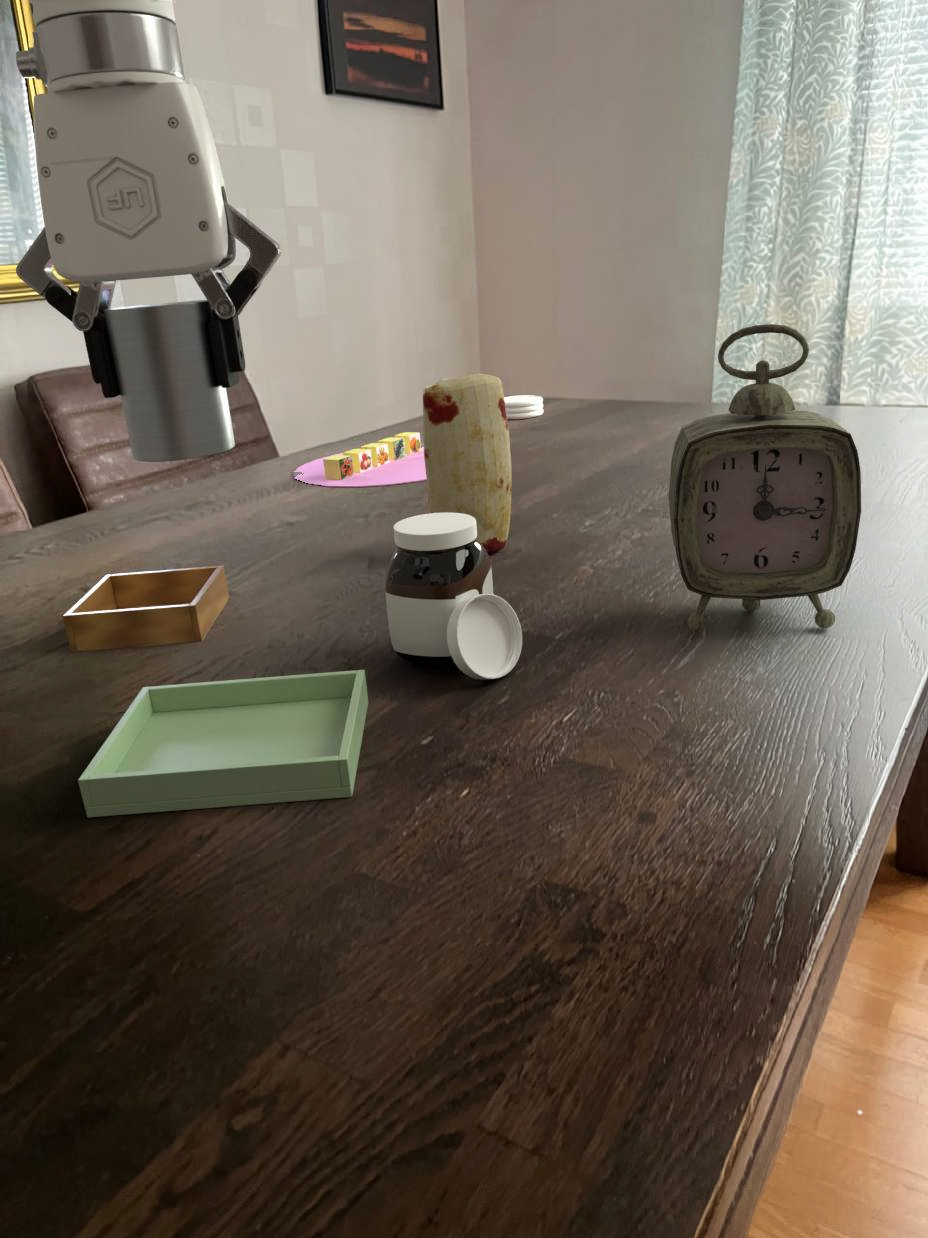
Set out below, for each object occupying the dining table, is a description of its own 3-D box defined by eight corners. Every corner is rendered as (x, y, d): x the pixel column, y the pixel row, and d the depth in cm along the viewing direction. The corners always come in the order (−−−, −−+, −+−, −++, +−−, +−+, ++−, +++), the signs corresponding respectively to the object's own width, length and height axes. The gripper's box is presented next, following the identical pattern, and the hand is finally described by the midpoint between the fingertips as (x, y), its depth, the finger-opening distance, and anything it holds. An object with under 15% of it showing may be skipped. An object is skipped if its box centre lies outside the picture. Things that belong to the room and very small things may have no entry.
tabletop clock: (674, 640, 82) (673, 335, 73) (667, 603, 91) (666, 326, 82) (852, 636, 80) (874, 321, 71) (829, 599, 88) (845, 313, 80)
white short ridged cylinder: (489, 420, 197) (488, 403, 196) (502, 412, 206) (501, 395, 204) (536, 419, 194) (535, 401, 192) (548, 410, 202) (547, 393, 201)
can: (119, 465, 59) (88, 311, 56) (149, 446, 65) (122, 306, 62) (223, 456, 59) (197, 302, 56) (243, 438, 65) (221, 298, 62)
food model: (441, 567, 107) (424, 382, 100) (426, 551, 113) (409, 376, 106) (524, 553, 109) (514, 372, 102) (505, 539, 115) (494, 366, 108)
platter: (252, 481, 158) (248, 461, 157) (369, 442, 183) (367, 425, 182) (412, 492, 142) (410, 469, 140) (517, 448, 167) (516, 428, 165)
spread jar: (428, 629, 89) (416, 506, 85) (546, 638, 85) (539, 509, 81) (370, 683, 79) (353, 546, 75) (501, 695, 75) (491, 551, 70)
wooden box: (72, 657, 90) (62, 615, 88) (114, 611, 101) (106, 574, 100) (203, 646, 89) (195, 605, 88) (230, 602, 101) (223, 565, 99)
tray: (86, 818, 62) (77, 780, 61) (149, 719, 76) (142, 686, 75) (352, 797, 62) (347, 759, 61) (368, 702, 75) (364, 669, 74)
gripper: (-72, 67, 51) (11, 410, 57) (255, 38, 51) (302, 385, 57) (-10, 90, 58) (58, 393, 64) (278, 65, 58) (318, 371, 64)
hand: (173, 387), depth 61 cm, fingers closed on can, 6 cm apart
